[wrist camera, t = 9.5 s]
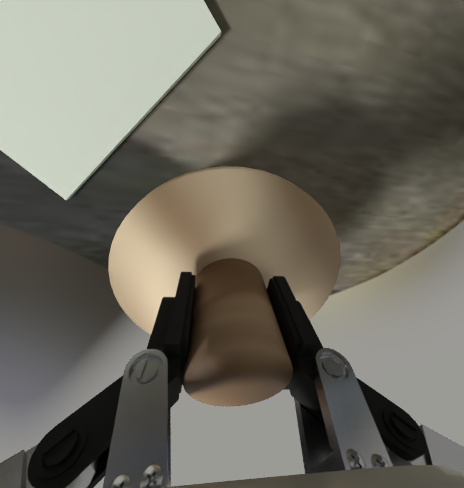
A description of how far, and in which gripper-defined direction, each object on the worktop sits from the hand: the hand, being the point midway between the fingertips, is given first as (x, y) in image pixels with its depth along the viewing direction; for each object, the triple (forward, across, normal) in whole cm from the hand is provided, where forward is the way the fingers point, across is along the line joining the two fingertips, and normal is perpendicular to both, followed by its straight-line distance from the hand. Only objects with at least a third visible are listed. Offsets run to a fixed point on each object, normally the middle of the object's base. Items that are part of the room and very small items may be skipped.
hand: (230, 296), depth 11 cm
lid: (+2, 0, 0) cm, 2 cm away
